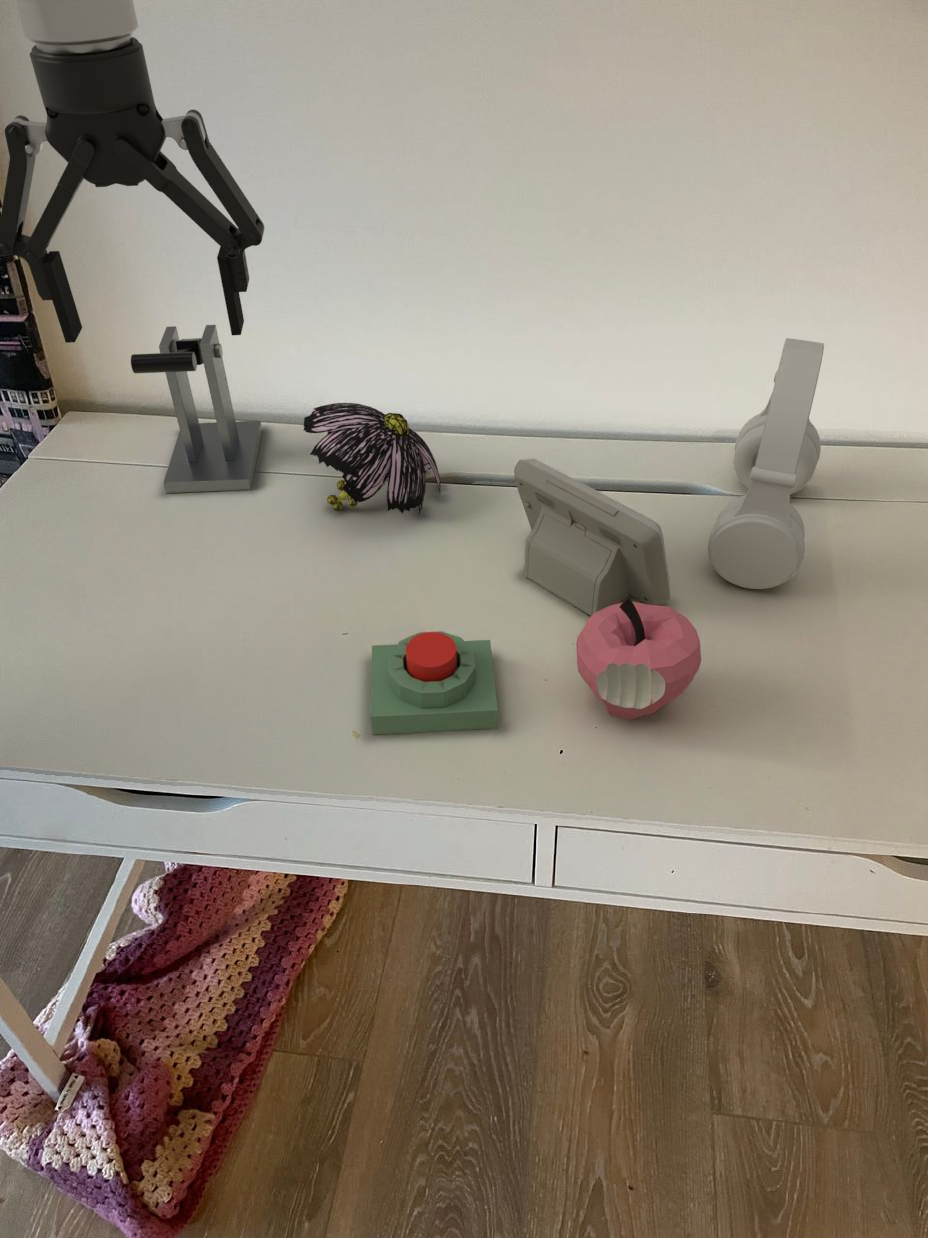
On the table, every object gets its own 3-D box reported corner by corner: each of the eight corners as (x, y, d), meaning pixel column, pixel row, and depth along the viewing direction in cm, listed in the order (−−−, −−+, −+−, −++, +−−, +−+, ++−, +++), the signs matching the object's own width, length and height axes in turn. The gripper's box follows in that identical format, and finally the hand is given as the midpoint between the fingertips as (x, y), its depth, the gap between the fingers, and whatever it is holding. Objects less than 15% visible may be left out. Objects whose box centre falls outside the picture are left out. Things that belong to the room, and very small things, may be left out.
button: (407, 683, 74) (406, 668, 72) (406, 648, 77) (405, 632, 75) (458, 681, 74) (457, 665, 73) (455, 645, 77) (455, 630, 76)
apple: (559, 727, 75) (567, 637, 68) (584, 654, 81) (593, 565, 74) (680, 756, 73) (700, 666, 66) (696, 679, 79) (716, 588, 72)
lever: (194, 375, 85) (190, 348, 84) (132, 378, 85) (128, 350, 84) (222, 361, 97) (219, 337, 96) (169, 363, 97) (165, 339, 96)
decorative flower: (452, 457, 86) (296, 402, 85) (416, 566, 91) (269, 516, 91) (467, 416, 99) (332, 369, 98) (434, 514, 104) (306, 470, 103)
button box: (372, 735, 75) (368, 701, 72) (373, 663, 80) (370, 629, 78) (497, 728, 75) (498, 694, 72) (490, 657, 81) (490, 623, 78)
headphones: (730, 469, 101) (767, 296, 88) (810, 483, 99) (860, 308, 86) (698, 582, 88) (736, 397, 74) (791, 602, 85) (847, 415, 72)
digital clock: (679, 608, 85) (697, 513, 78) (601, 647, 81) (612, 551, 74) (568, 519, 95) (575, 428, 88) (495, 551, 92) (496, 458, 84)
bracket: (250, 489, 100) (224, 361, 90) (165, 493, 100) (130, 365, 90) (262, 430, 109) (239, 307, 99) (184, 433, 108) (153, 310, 98)
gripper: (271, 23, 68) (307, 306, 82) (-83, 33, 67) (17, 318, 81) (262, 46, 62) (303, 345, 77) (-124, 58, 61) (-9, 359, 75)
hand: (156, 332), depth 79 cm, fingers open, 13 cm apart
